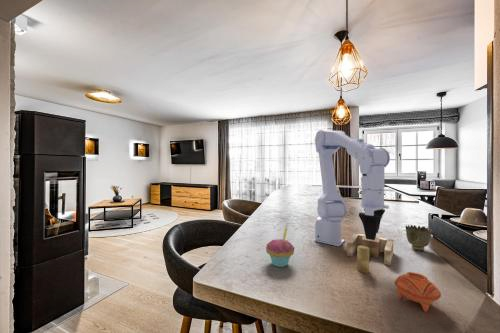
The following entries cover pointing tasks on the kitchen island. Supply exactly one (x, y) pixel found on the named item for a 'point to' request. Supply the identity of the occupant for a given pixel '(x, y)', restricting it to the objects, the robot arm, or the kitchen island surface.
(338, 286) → the kitchen island surface
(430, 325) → the kitchen island surface
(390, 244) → the beige blocky multi-part fixture
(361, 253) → the tab block
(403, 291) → the orange ridged rounded piece
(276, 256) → the cupcake
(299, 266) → the kitchen island surface
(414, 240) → the cup
